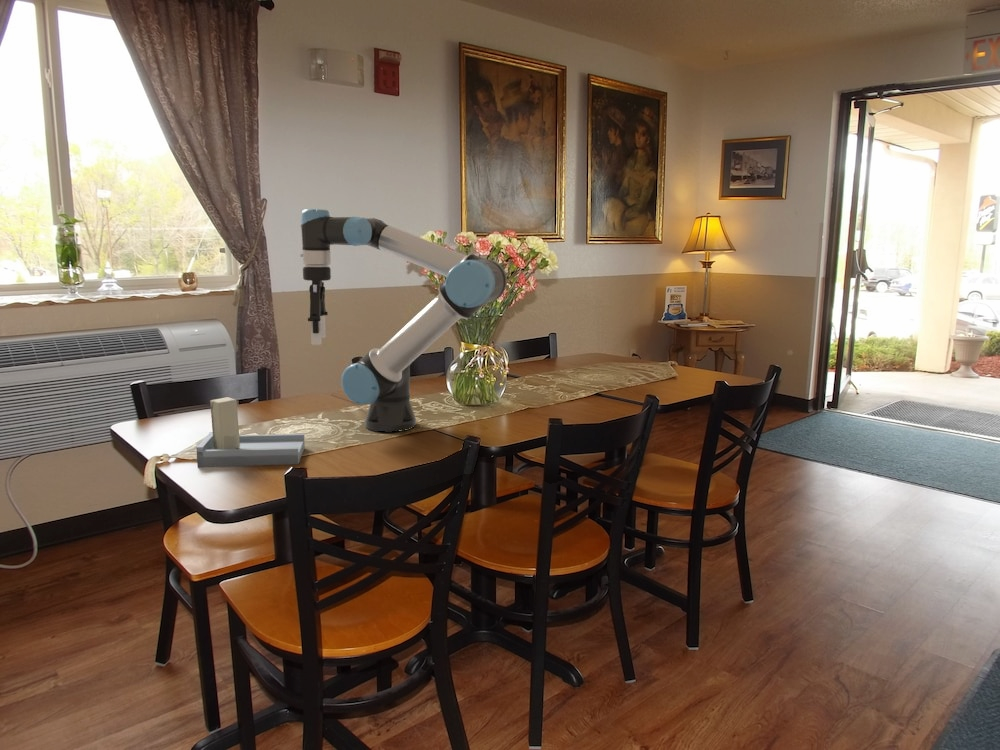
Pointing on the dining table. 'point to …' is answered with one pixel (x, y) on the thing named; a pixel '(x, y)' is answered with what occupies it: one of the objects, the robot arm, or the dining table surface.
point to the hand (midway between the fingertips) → (318, 341)
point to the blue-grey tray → (253, 451)
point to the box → (225, 423)
